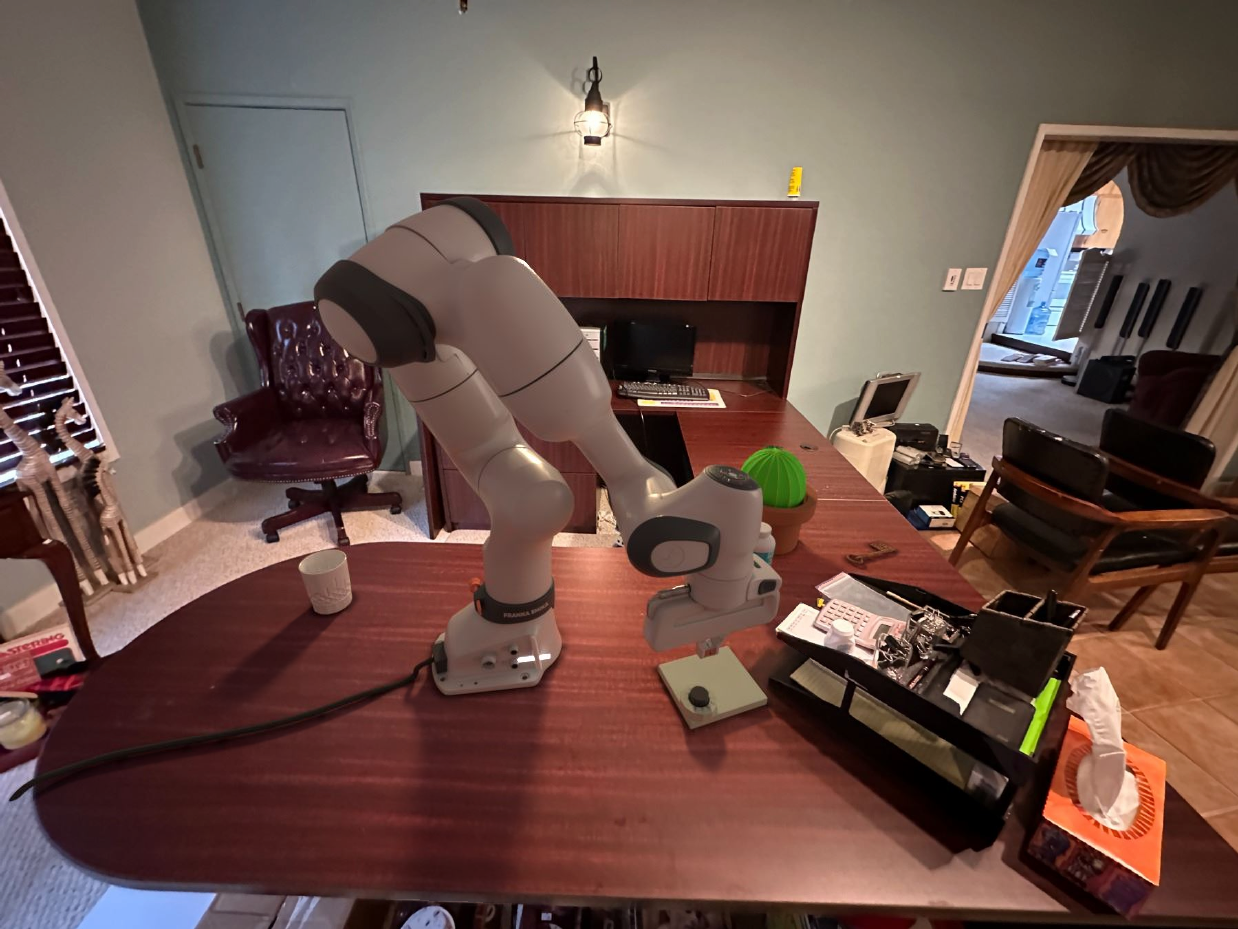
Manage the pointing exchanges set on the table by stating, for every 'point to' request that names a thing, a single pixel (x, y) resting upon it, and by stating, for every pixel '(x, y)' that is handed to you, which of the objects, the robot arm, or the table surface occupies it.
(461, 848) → the table surface
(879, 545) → the key
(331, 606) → the white cup
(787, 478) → the potted cactus
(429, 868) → the table surface
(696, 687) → the tare button
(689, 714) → the scale
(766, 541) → the pill bottle
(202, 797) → the table surface
